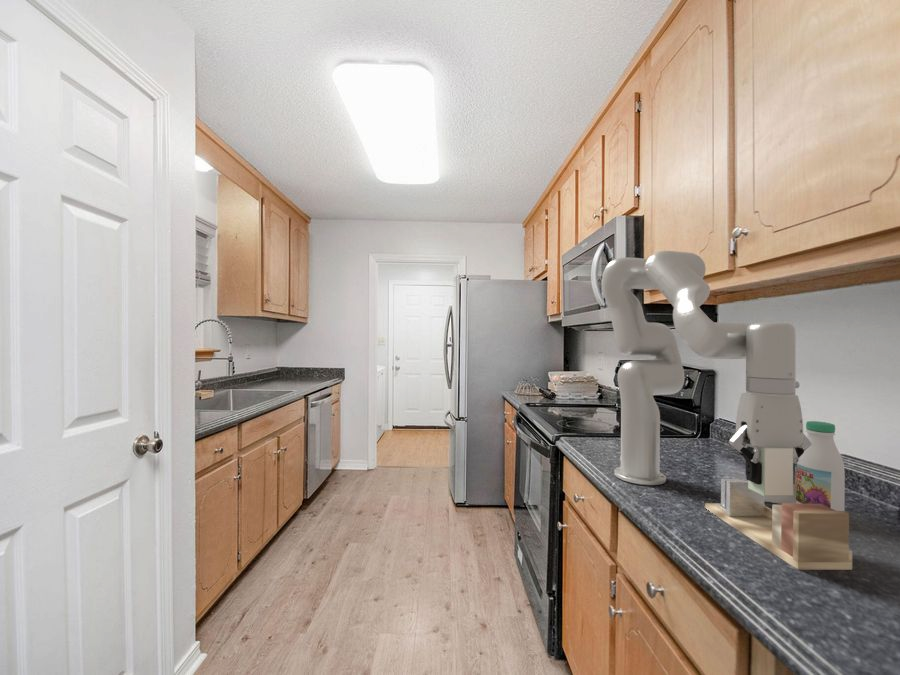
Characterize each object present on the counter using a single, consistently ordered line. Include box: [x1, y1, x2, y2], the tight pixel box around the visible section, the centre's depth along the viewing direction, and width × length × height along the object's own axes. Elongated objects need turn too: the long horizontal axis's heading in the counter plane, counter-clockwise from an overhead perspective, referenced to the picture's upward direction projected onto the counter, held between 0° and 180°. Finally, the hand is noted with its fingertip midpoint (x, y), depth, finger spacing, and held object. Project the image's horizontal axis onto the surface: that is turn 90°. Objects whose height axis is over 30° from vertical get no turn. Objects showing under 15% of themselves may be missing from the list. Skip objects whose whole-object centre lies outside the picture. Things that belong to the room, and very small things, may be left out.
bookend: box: [716, 478, 766, 517], centre depth 87 cm, size 5×7×7 cm
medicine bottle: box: [765, 475, 796, 505], centre depth 98 cm, size 7×7×12 cm
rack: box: [704, 502, 853, 571], centre depth 80 cm, size 24×9×9 cm, turn 1°
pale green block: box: [747, 447, 793, 496], centre depth 79 cm, size 4×6×9 cm
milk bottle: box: [795, 420, 846, 511], centre depth 88 cm, size 8×8×20 cm
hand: (769, 481), depth 79 cm, fingers closed on pale green block, 5 cm apart
